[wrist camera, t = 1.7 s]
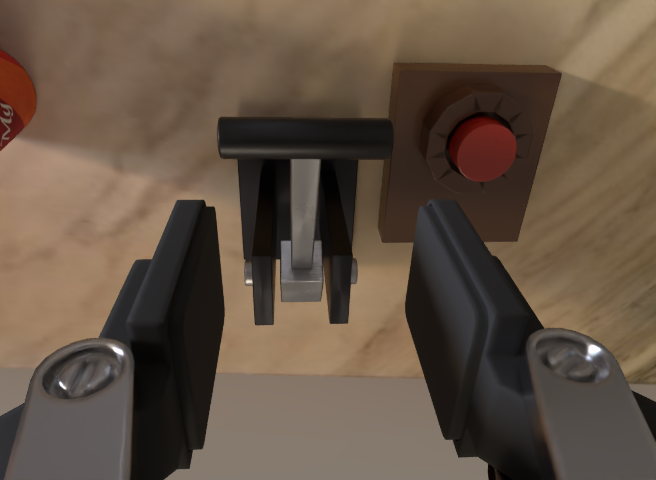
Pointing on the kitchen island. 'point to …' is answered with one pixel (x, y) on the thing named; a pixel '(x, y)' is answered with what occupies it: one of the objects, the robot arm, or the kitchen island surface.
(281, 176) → the bracket
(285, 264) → the tap lever
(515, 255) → the kitchen island surface
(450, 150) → the button
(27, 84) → the paper cup
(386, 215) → the button block
